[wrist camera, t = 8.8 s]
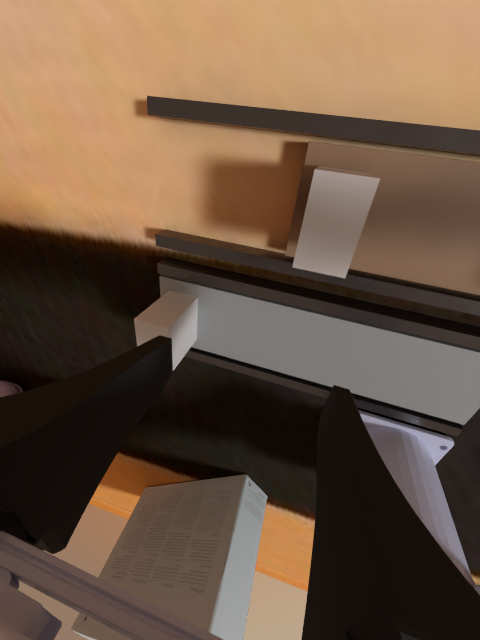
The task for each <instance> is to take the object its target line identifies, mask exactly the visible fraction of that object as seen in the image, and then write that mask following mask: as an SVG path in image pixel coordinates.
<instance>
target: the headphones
mask: <svg viewBox="0 0 480 640" xmlns="http://www.w3.org/2000/svg"><path fill="white" fill-rule="evenodd" d="M20 392H23V390H22V388H21V387H20V386H19V385H17V384H14V383H11V382H8V381H0V397H4V396H8V395H12V394H16V393H20Z"/></svg>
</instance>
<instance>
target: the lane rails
mask: <svg viewBox="0 0 480 640" xmlns="http://www.w3.org/2000/svg"><path fill="white" fill-rule="evenodd" d="M147 106H148V115H152V116H157V117H161V118H169V119H178V120H186V121H194V122H203V123H211V124H219V125H228V126H236V127H245V128H253V129H261V130H270V131H278V132H286V133H295V134H303V135H311V136H320V137H328V138H337V139H345V140H353V141H362V142H370V143H378V144H387V145H395V146H403V147H412V148H420V149H429V150H437V151H445V152H454V153H462V154H470V155H479V156H480V131H478V130H468V129H459V128H449V127H440V126H430V125H421V124H411V123H401V122H392V121H382V120H373V119H363V118H353V117H344V116H334V115H325V114H315V113H306V112H296V111H286V110H277V109H267V108H258V107H248V106H239V105H229V104H219V103H210V102H200V101H191V100H181V99H172V98H162V97H152V96H147ZM155 237H156V246H160V247H164V248H169V249H173V250H178V251H183V252H187V253H192V254H196V255H201V256H206V257H210V258H215V259H220V260H224V261H229V262H233V263H238V264H243V265H247V266H252V267H256V268H261V269H266V270H270V271H275V272H279V273H284V274H289V275H293V276H298V277H303V278H307V279H312V280H316V281H321V282H326V283H330V284H335V285H339V286H344V287H349V288H353V289H358V290H362V291H367V292H372V293H376V294H381V295H386V296H390V297H395V298H399V299H404V300H409V301H413V302H418V303H422V304H427V305H432V306H436V307H441V308H445V309H450V310H455V311H459V312H464V313H469V314H473V315H478V316H480V295H476V294H471V293H466V292H461V291H457V290H452V289H447V288H442V287H437V286H432V285H427V284H422V283H417V282H413V281H408V280H403V279H398V278H393V277H388V276H383V275H378V274H373V273H368V272H364V271H359V270H354V269H348V272H347V275H346V278H340V277H336V276H331V275H326V274H321V273H317V272H312V271H307V270H302V269H298V268H293V267H292V266H293V262H294V257H290V256H285V254H282V253H277V252H273V251H268V250H263V249H258V248H253V247H248V246H243V245H238V244H233V243H228V242H223V241H218V240H214V239H209V238H204V237H199V236H194V235H189V234H184V233H179V232H174V231H169V230H164V231H162V232H159V233H157V234H155ZM157 270H158V274H162V275H167V276H171V277H175V278H179V279H183V280H188V281H192V282H196V283H200V284H205V285H209V286H213V287H217V288H221V289H226V290H230V291H234V292H238V293H242V294H247V295H251V296H255V297H259V298H264V299H268V300H272V301H276V302H280V303H285V304H289V305H293V306H297V307H301V308H306V309H310V310H314V311H318V312H322V313H327V314H331V315H335V316H339V317H344V318H348V319H352V320H356V321H360V322H365V323H369V324H373V325H377V326H381V327H386V328H390V329H394V330H398V331H402V332H407V333H411V334H415V335H419V336H424V337H428V338H432V339H436V340H440V341H445V342H449V343H453V344H457V345H461V346H466V347H470V348H474V349H478V350H480V327H476V326H471V325H467V324H462V323H458V322H453V321H449V320H444V319H440V318H436V317H431V316H427V315H422V314H418V313H413V312H409V311H404V310H400V309H395V308H391V307H386V306H382V305H377V304H373V303H369V302H364V301H360V300H355V299H351V298H346V297H342V296H337V295H333V294H328V293H324V292H319V291H315V290H310V289H306V288H302V287H297V286H293V285H288V284H284V283H279V282H275V281H270V280H266V279H261V278H257V277H252V276H248V275H243V274H239V273H234V272H230V271H226V270H221V269H217V268H212V267H208V266H203V265H199V264H194V263H190V262H185V261H181V260H176V259H172V258H165V259H163V260H162V261H160V262H158V263H157ZM185 357H188V358H192V359H195V360H198V361H202V362H205V363H209V364H212V365H215V366H219V367H222V368H226V369H229V370H232V371H236V372H239V373H243V374H246V375H249V376H253V377H256V378H260V379H263V380H266V381H270V382H273V383H277V384H280V385H283V386H287V387H290V388H294V389H297V390H300V391H304V392H307V393H311V394H314V395H317V396H321V397H324V398H328V397H329V394H330V392H331V390H332V387H330V386H326V385H323V384H319V383H316V382H312V381H309V380H305V379H302V378H298V377H295V376H291V375H288V374H284V373H281V372H277V371H274V370H270V369H267V368H263V367H260V366H256V365H253V364H249V363H246V362H242V361H239V360H235V359H232V358H228V357H225V356H221V355H218V354H214V353H211V352H207V351H204V350H200V349H197V348H193V347H191V348H190V349H189V350H188V352H187V353H186V354H185ZM351 394H352V396H353V399H354V401H355V404H356V406H357V407H358V408H362V409H365V410H368V411H372V412H375V413H379V414H382V415H385V416H389V417H392V418H396V419H399V420H402V421H406V422H409V423H413V424H416V425H419V426H423V427H426V428H430V429H433V430H436V431H440V432H443V433H447V434H450V435H453V436H458V435H459V434H460V432H461V431H462V430H463V429H462V427H461V425H460V424H459V423H456V422H452V421H449V420H445V419H442V418H438V417H435V416H431V415H428V414H424V413H421V412H417V411H414V410H410V409H407V408H403V407H400V406H396V405H393V404H389V403H386V402H382V401H379V400H375V399H372V398H368V397H365V396H361V395H358V394H354V393H351Z"/></svg>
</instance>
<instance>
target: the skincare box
mask: <svg viewBox="0 0 480 640" xmlns="http://www.w3.org/2000/svg"><path fill="white" fill-rule="evenodd" d="M266 500H267V495H266V494H265V493H264V492H263V491H262V490H261V489H260V488H259V487H258V486H257V485H256V484H255V483H254V482H253V481H252V480H251V479H250V478H249V476H248V475H247V474H244V475H236V476H229V477H221V478H214V479H206V480H198V481H191V482H184V483H176V484H169V485H161V486H153V487H146V488H145V489H144V491H143V493H142V495H141V497H140V499H139V501H138V503H137V505H136V507H135V508H134V510H133V512H132V514H131V516H130V518H129V520H128V522H127V524H126V526H125V528H124V530H123V531H122V533H121V535H120V537H119V539H118V541H117V543H116V545H115V547H114V548H113V550H112V552H111V554H110V556H109V558H108V560H107V562H106V564H105V566H104V568H103V570H102V571H101V573H100V575H99V577H98V578H99V579H101V580H103V581H106V582H108V583H110V584H112V585H114V586H116V587H118V588H120V589H122V590H124V591H126V592H128V593H130V594H132V595H134V596H136V597H138V598H140V599H142V600H144V601H146V602H148V603H150V604H152V605H154V606H156V607H158V608H161V609H163V610H165V611H167V612H169V613H171V614H173V615H175V616H177V617H179V618H181V619H183V620H185V621H187V622H189V623H191V624H193V625H195V626H197V627H199V628H201V629H203V630H205V631H207V632H209V633H211V634H213V635H216V636H218V637H220V638H222V639H224V640H243V638H244V633H245V627H246V621H247V615H248V608H249V602H250V596H251V590H252V584H253V578H254V572H255V566H256V560H257V554H258V548H259V542H260V536H261V530H262V524H263V518H264V513H265V507H266ZM71 630H72V631H74V632H75V633H77V634H79V635H81V636H83V637H85V638H87V639H89V640H132V639H130V638H128V637H126V636H124V635H122V634H120V633H118V632H116V631H114V630H112V629H111V628H109V627H107V626H105V625H103V624H101V623H99V622H97V621H95V620H93V619H92V618H90V617H88V616H86V615H84V614H82V613H79V615H78V617H77V618H76V620H75V622H74V624H73V626H72V628H71Z"/></svg>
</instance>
